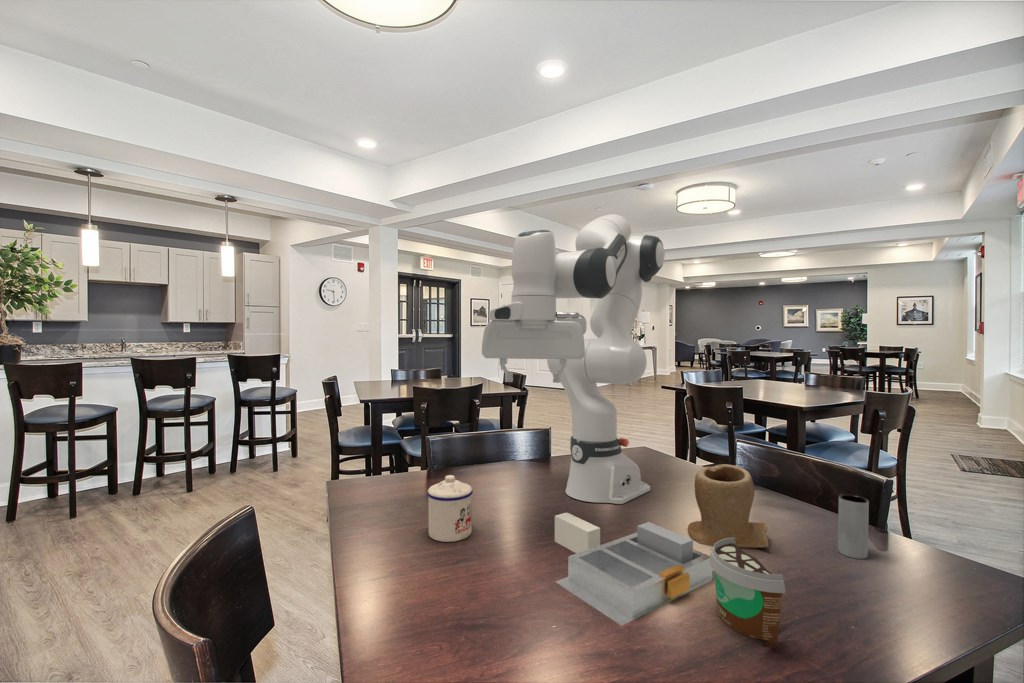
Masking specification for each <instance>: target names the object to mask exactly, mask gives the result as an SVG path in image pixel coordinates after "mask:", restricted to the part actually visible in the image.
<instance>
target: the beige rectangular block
mask: <svg viewBox="0 0 1024 683" xmlns="http://www.w3.org/2000/svg"><path fill="white" fill-rule="evenodd" d="M554 542H555V543H557V544H558V545H560V546H563V547H564V548H566V549H568V550H570V551H571V552H572V553H574V554H577V553H579V552H582V551H585V550H588V549H591V548H594V547H597V546H599V545H601V527H599V526H597V525H594V524H593V523H590V522H588V521H586V520H584V519H582V518H579V517H577V516H575V515H573V514H572V513H569V512H562V513H560V514H556V515H554Z"/></svg>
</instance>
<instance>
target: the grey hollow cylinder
mask: <svg viewBox="0 0 1024 683" xmlns="http://www.w3.org/2000/svg"><path fill="white" fill-rule="evenodd" d="M869 504H870V501H869V499H867V498H865V497H863V496H860V495H855V494H850V493H849V494H847V493H844V494H843V493H842V494H840V495H838V510H837V511H838V512H837V513H838V514H837V516H838V517H837V518H838V520H837V521H838V522H837V524H838V525H837V527H838V528H837V551H838V552H839V554H842V555H843V556H845V557H849V558H853V559H861V560H862V559H867V558H868V556H869V555H868V554H869V516H870V514H869V513H870V512H869V511H870V509H869V508H870V507H869Z"/></svg>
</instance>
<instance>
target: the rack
mask: <svg viewBox="0 0 1024 683" xmlns="http://www.w3.org/2000/svg"><path fill="white" fill-rule="evenodd" d="M709 559H710V555H708V554H706V553H704V552H701V551H699V550H696V549H694V548H693V560H692V561H689V562H687V563H685V564H681V563H679V562H677V561H675V560H673V559H670V558H668V557H666V556H664V555H662V554H660V553H657V552H655V551H653V550H651V549H649V548H646V547H644V546H642V545H640V544H638V543H637V532H634V533H631V534H628V535H625V536H623V537H620V538H617V539H614V540H612V541H611V540H610V541H609V542H605V543H602V544H600V545H599V546H597V547H594V548H591V549H588V550H585V551H582V552H579V553H577V554H576V553H574V554H571V555H569V556H568V558H567V560H568V562H567V566H568V568H567V574H568V575H567V576H566V577H564V578H561V579H558V580H555V583H556V584H558V585H559V586H561V587H562V588H563V589H565V590H567V591H568V592H570V593H572V594H573V595H575V597H577V598H579V599H580V600H582V601H583V602H584V603H587V604H588V605H590V606H591V607H593V608H594V609H595V610H597V611H598V612H600V613H602V614H603V615H604V616H606V617H608V618H609V619H610V620H612V621H614V623H617V624H618V625H619V626H622V627H623V626H624V625H626V624H628V623H630V622H632V621H634V620H636V619H638V618H640V617H642V616H643V615H646V614H649V613H650V612H652V611H654V610H656V609H658V608H660V607H662V606H664V605H666V604H668V603H670V602H672V601H674V600H676V599H678V598H680V597H682V596H685V595H686V594H689V593H691V592H693V591H694V590H696V589H698V588H700V587H701V586H704V585H707V584H708V583H710V582H712V581H715V571H714V570H713V569H712V568H711V566H710V563H709Z"/></svg>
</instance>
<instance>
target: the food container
mask: <svg viewBox="0 0 1024 683" xmlns="http://www.w3.org/2000/svg"><path fill="white" fill-rule="evenodd" d="M709 556H710V559H709V563H710V566H711V568H712V570H713V571H715V579H714V584H715V595H716V596H715V597H716V612H717V613H716V614H717V615H718V618H719V619H720V621H721V622H722V623H723V624H724V625H726V626H727V627H728V628H730V629H732V630H734V631H735V632H737V633H739V634H742V635H743V636H747V637H750V638H753V639H757V640H763V641H766V642H765V643H763V644H762V645H761V646H762V647H763V648H769V647H770V649H771V648H778V642H779V633H780V632H779V630H780V620H781V606H782V597H783V596H782V595H783V594H786V585H785V580H784V575H783V574H773V573H771V572H770V571H769V570H768V569H767V568H766V567H765V566H764V565H763V564H762V563H761V562H760V561H759V559H757V558H756V557H755V556H753V555H751V554H749V553H747V552H746V551H745V550H743V549H742V548H739V547H738V546H737V545H736V543H735V538H726V539H722V540H720V541H718V542H716V543H715V545H714V546H712V549H711V552H710V555H709Z"/></svg>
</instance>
